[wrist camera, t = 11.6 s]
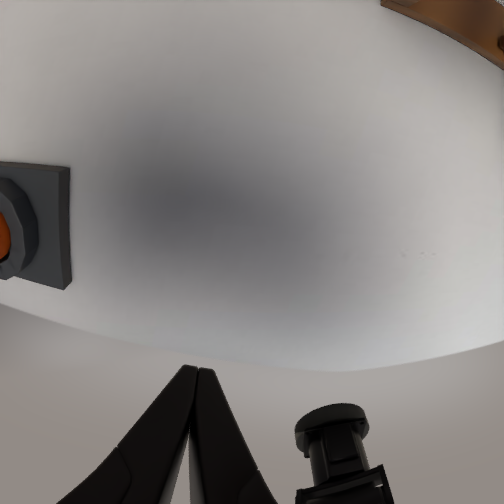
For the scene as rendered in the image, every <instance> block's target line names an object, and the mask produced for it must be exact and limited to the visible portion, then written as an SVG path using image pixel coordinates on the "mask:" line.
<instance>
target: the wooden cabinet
mask: <svg viewBox="0 0 504 504" xmlns="http://www.w3.org/2000/svg"><path fill="white" fill-rule="evenodd" d="M381 5H382V6H384V7H387V8H389V9H392V10H394V11H397V12H399V13H402V14H404V15H406V16H409V17H411V18H413V19H415V20H418V21H420V22H422V23H424V24H426V25H428V26H430V27H432V28H434V29H436V30H438V31H440V32H442V33H444V34H446V35H448V36H450V37H452V38H453V39H455V40H457V41H459V42H460V43H462V44H464V45H466V46H467V47H469V48H471V49H472V50H474V51H476V52H477V53H479V54H480V55H482V56H484V57H485V58H487V59H488V60H490V61H491V62H493V63H494V64H496V65H497V66H499V67H500V68H501V69H503V70H504V50H503V49H502V48H500V36H502V35H504V7H503V6H502V5H500V4H499V3H498V2H496V1H495V0H381Z"/></svg>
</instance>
